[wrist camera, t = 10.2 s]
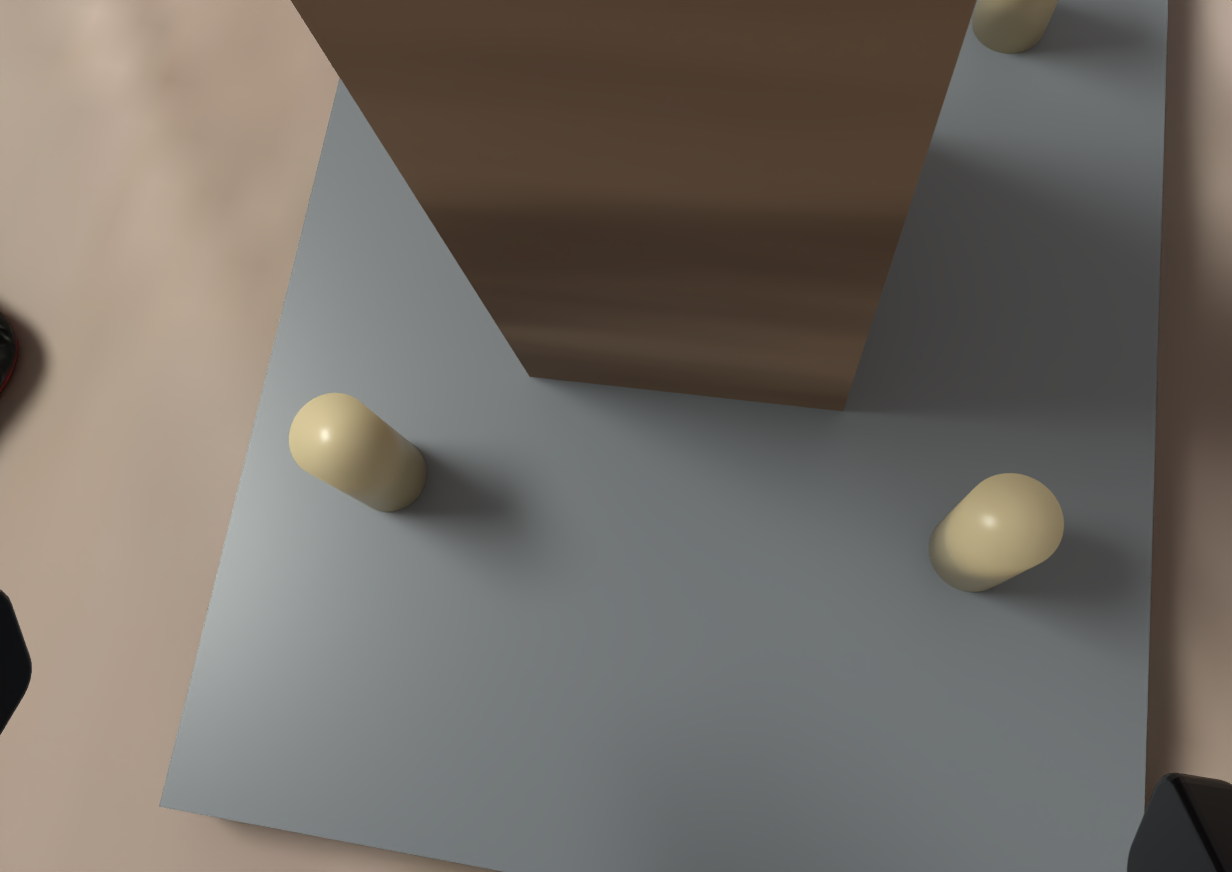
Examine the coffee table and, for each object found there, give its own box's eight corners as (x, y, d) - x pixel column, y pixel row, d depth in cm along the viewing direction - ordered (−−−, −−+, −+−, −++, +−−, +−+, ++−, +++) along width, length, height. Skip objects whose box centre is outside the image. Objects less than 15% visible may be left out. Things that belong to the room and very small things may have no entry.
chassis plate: (1113, 973, 14) (1224, 1051, 11) (192, 801, 17) (53, 822, 13) (1153, -191, 19) (1240, -383, 16) (435, -208, 21) (377, -380, 18)
